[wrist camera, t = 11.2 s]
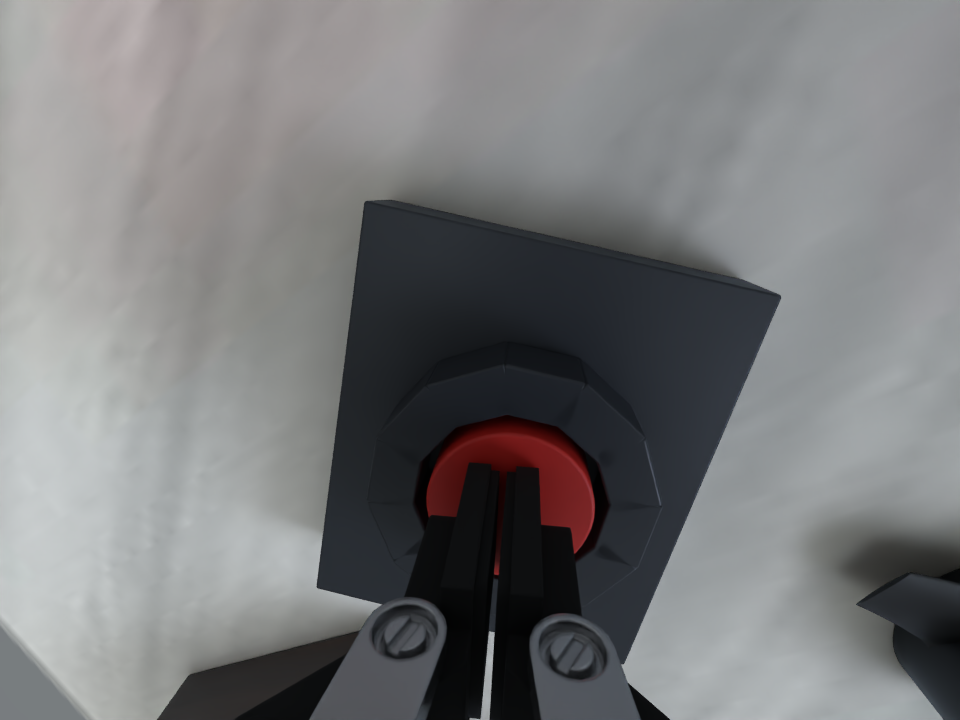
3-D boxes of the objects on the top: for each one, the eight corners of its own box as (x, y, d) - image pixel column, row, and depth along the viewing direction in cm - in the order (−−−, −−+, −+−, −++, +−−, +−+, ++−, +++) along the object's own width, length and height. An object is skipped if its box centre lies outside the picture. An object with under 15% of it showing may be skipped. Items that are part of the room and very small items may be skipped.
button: (453, 386, 13) (441, 415, 11) (606, 422, 12) (618, 457, 11) (427, 513, 14) (412, 556, 12) (564, 546, 14) (569, 594, 12)
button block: (389, 199, 14) (334, 201, 10) (744, 280, 13) (828, 314, 10) (341, 542, 18) (289, 636, 14) (613, 609, 17) (635, 724, 14)
